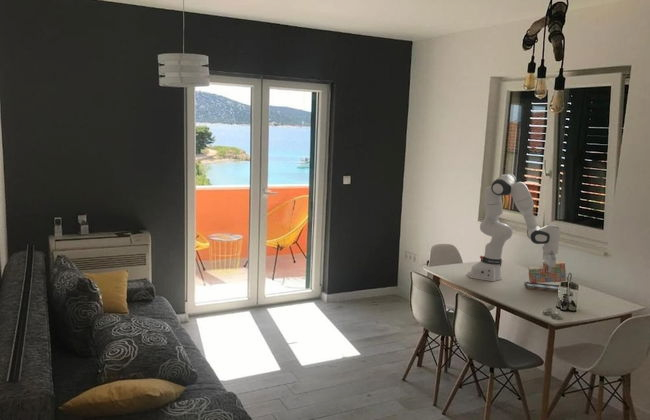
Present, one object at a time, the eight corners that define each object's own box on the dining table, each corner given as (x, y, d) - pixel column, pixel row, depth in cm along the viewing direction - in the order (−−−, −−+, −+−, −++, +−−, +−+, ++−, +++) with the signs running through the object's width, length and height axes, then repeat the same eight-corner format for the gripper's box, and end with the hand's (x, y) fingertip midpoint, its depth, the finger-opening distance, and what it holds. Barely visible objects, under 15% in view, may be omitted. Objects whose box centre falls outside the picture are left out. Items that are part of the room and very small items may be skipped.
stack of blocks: (530, 283, 350) (529, 265, 348) (529, 280, 356) (527, 262, 355) (566, 281, 346) (565, 262, 344) (563, 278, 352) (562, 260, 350)
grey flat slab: (527, 288, 349) (527, 285, 349) (524, 284, 359) (524, 281, 358) (567, 293, 345) (568, 290, 345) (563, 288, 355) (564, 285, 354)
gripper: (559, 254, 337) (556, 275, 339) (552, 246, 357) (549, 267, 359) (549, 253, 338) (546, 274, 340) (542, 245, 358) (539, 266, 360)
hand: (547, 270), depth 350 cm, fingers closed on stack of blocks, 6 cm apart
